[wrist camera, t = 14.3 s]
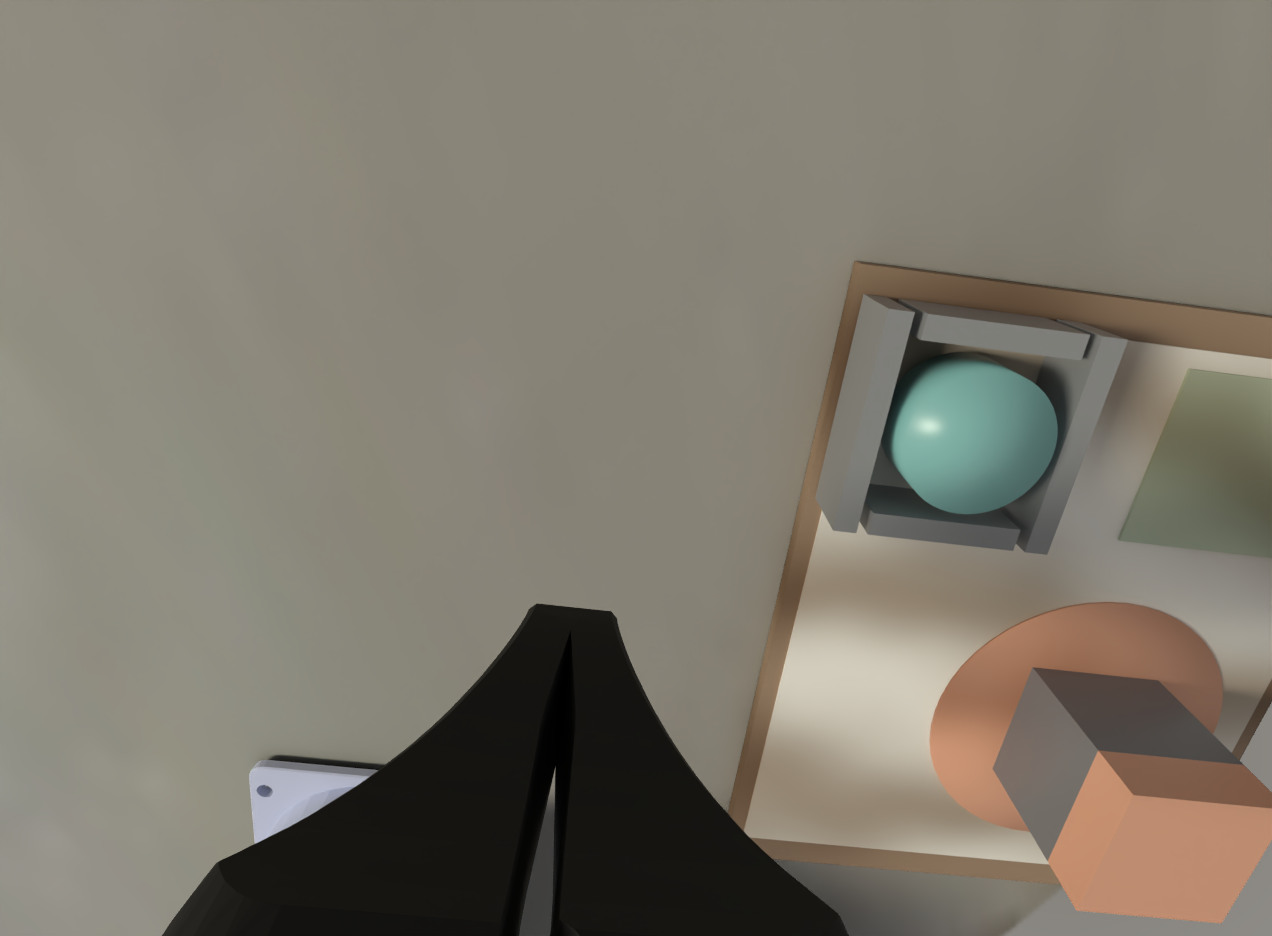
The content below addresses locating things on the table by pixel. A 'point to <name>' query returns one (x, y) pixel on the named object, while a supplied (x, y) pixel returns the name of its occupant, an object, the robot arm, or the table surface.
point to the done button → (969, 432)
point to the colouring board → (1016, 596)
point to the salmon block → (1132, 797)
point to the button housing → (1067, 377)
